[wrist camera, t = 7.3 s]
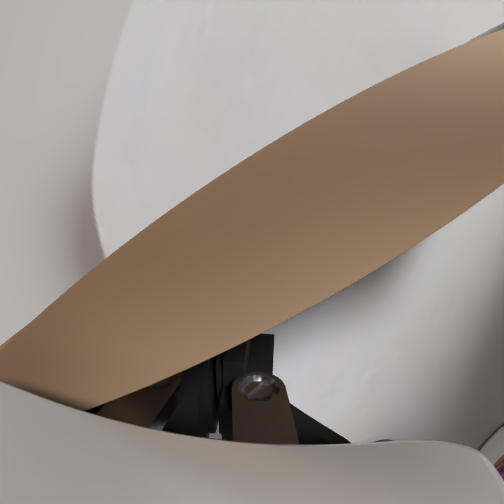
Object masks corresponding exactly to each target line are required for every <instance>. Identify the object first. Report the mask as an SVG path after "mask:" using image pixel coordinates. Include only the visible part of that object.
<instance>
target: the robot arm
mask: <svg viewBox="0 0 504 504" xmlns="http://www.w3.org/2000/svg"><path fill="white" fill-rule="evenodd" d="M273 351H274V334H259V335H257V336H255V337H253V338H251V339H249V340H247V341H245V342H243V343H241V344H239V345H237V346H235V347H233V348H231V349H229V350H227V351H224V352H222V353H220V354H218V355H216V356H214V357H212V358H210V359H208V360H205V361H203V362H201V363H199V364H197V365H195V366H192V367H190V368H188V369H186V370H183V371H181V372H179V373H177V374H174V375H172V376H170V377H168V378H165V379H163V380H161V381H158V382H156V383H154V384H151V385H149V386H147V387H144V388H142V389H139V390H137V391H134V392H132V393H129V394H127V395H124V396H122V397H119V398H117V399H114V400H112V401H109V402H107V403H104V404H101V405H99V406H96V407H93V408H91V409H88V410H85V411H82V410H78V409H75V408H72V407H69V406H66V405H63V404H60V403H57V402H54V401H52V400H49V399H46V398H44V397H41V396H38V395H36V394H33V393H31V392H28V391H25V390H23V389H20V388H17V387H15V386H12V385H10V384H7V383H5V382H1V381H0V504H504V480H503V479H502V477H501V476H500V474H499V473H498V471H497V470H496V468H495V467H494V466H493V464H492V463H491V462H490V461H489V460H488V459H487V458H486V457H485V456H484V455H483V454H482V453H481V452H479V451H478V450H476V449H474V448H472V447H469V446H466V445H462V444H458V443H452V442H444V441H437V440H402V441H387V442H372V443H351V442H349V441H348V440H347V439H345V438H344V437H342V436H340V435H339V434H337V433H335V432H334V431H332V430H331V429H329V428H327V427H326V426H324V425H322V424H321V423H319V422H318V421H316V420H315V419H313V418H311V417H310V416H308V415H307V414H305V413H304V412H302V411H301V410H299V409H298V408H296V407H295V406H293V405H292V404H290V403H289V399H288V395H287V391H286V387H285V385H284V383H283V381H282V380H281V379H279V378H278V377H276V376H274V375H272V373H273ZM218 420H219V433H220V434H222V440H221V439H212V438H208V437H209V433H215V432H216V428H217V424H218Z"/></svg>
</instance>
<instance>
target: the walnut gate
mask: <svg viewBox="0 0 504 504" xmlns="http://www.w3.org/2000/svg"><path fill="white" fill-rule="evenodd" d="M503 183H504V29H502V30H499V31H497V32H494V33H491V34H488V35H486V36H483V37H481V38H478V39H475V40H473V41H470V42H468V43H465V44H463V45H460V46H458V47H456V48H453V49H451V50H449V51H446V52H444V53H442V54H439V55H437V56H435V57H432V58H430V59H428V60H426V61H424V62H421V63H419V64H417V65H415V66H413V67H411V68H409V69H406V70H404V71H402V72H400V73H398V74H396V75H394V76H392V77H390V78H388V79H386V80H384V81H382V82H380V83H378V84H376V85H374V86H372V87H370V88H368V89H366V90H364V91H362V92H360V93H359V94H357V95H355V96H353V97H351V98H349V99H347V100H345V101H344V102H342V103H340V104H338V105H336V106H334V107H333V108H331V109H329V110H327V111H325V112H324V113H322V114H320V115H318V116H316V117H315V118H313V119H311V120H309V121H308V122H306V123H304V124H303V125H301V126H299V127H297V128H296V129H294V130H292V131H291V132H289V133H287V134H286V135H284V136H282V137H281V138H279V139H277V140H276V141H274V142H272V143H271V144H269V145H267V146H266V147H264V148H263V149H261V150H259V151H258V152H256V153H255V154H253V155H251V156H250V157H248V158H247V159H245V160H244V161H242V162H240V163H239V164H237V165H236V166H234V167H233V168H231V169H230V170H228V171H227V172H225V173H224V174H222V175H221V176H219V177H218V178H216V179H215V180H213V181H212V182H210V183H209V184H207V185H206V186H204V187H203V188H201V189H200V190H198V191H197V192H195V193H194V194H192V195H191V196H190V197H188V198H187V199H185V200H184V201H182V202H181V203H180V204H178V205H177V206H175V207H174V208H173V209H171V210H170V211H168V212H167V213H166V214H164V215H163V216H161V217H160V218H159V219H157V220H156V221H155V222H153V223H152V224H150V225H149V226H148V227H146V228H145V229H144V230H142V231H141V232H140V233H138V234H137V235H136V236H134V237H133V238H132V239H130V240H129V241H128V242H127V243H125V244H124V245H123V246H121V247H120V248H119V249H118V250H116V251H115V252H114V253H112V254H111V255H110V256H109V257H107V258H106V259H105V260H104V261H102V262H101V263H100V264H99V265H97V266H96V267H95V268H94V269H92V270H91V271H90V272H89V273H88V274H87V275H85V276H84V277H83V278H81V279H80V280H79V281H78V282H77V283H75V284H74V285H73V286H72V287H71V288H69V289H68V290H67V291H66V292H65V293H64V294H62V295H61V296H60V297H59V298H58V299H57V300H55V301H54V302H53V303H52V304H51V305H50V306H49V307H48V308H46V309H45V310H44V311H43V312H42V313H41V314H40V315H39V316H37V317H36V318H35V319H34V320H33V321H32V322H31V323H29V324H28V325H27V326H25V327H24V328H23V329H21V330H20V331H19V332H17V333H16V334H15V335H14V336H12V337H11V338H10V339H9V340H7V341H6V342H5V343H3V344H2V345H1V346H0V381H1V382H5V383H7V384H10V385H12V386H15V387H17V388H20V389H23V390H25V391H28V392H31V393H33V394H36V395H38V396H41V397H44V398H46V399H49V400H52V401H54V402H57V403H60V404H63V405H66V406H69V407H72V408H75V409H78V410H82V411H85V410H88V409H91V408H93V407H96V406H99V405H101V404H104V403H107V402H109V401H112V400H114V399H117V398H119V397H122V396H124V395H127V394H129V393H132V392H134V391H137V390H139V389H142V388H144V387H147V386H149V385H151V384H154V383H156V382H158V381H161V380H163V379H165V378H168V377H170V376H172V375H174V374H177V373H179V372H181V371H183V370H186V369H188V368H190V367H192V366H195V365H197V364H199V363H201V362H203V361H205V360H208V359H210V358H212V357H214V356H216V355H218V354H220V353H222V352H224V351H227V350H229V349H231V348H233V347H235V346H237V345H239V344H241V343H243V342H245V341H247V340H249V339H251V338H253V337H255V336H257V335H259V334H261V333H263V332H265V331H267V330H269V329H271V328H273V327H275V326H277V325H278V324H280V323H282V322H284V321H286V320H288V319H290V318H292V317H294V316H295V315H297V314H299V313H301V312H303V311H305V310H307V309H308V308H310V307H312V306H314V305H316V304H317V303H319V302H321V301H323V300H325V299H326V298H328V297H330V296H332V295H334V294H335V293H337V292H339V291H341V290H342V289H344V288H346V287H347V286H349V285H351V284H353V283H354V282H356V281H358V280H359V279H361V278H363V277H365V276H366V275H368V274H370V273H371V272H373V271H375V270H376V269H378V268H379V267H381V266H383V265H384V264H386V263H388V262H389V261H391V260H392V259H394V258H396V257H397V256H399V255H400V254H402V253H404V252H405V251H407V250H408V249H410V248H412V247H413V246H415V245H416V244H418V243H419V242H421V241H422V240H424V239H425V238H427V237H428V236H430V235H431V234H433V233H434V232H436V231H437V230H439V229H440V228H442V227H443V226H445V225H446V224H448V223H449V222H451V221H452V220H454V219H455V218H457V217H458V216H459V215H461V214H462V213H464V212H465V211H467V210H468V209H469V208H471V207H472V206H474V205H475V204H476V203H478V202H479V201H481V200H482V199H483V198H485V197H486V196H487V195H489V194H490V193H491V192H493V191H494V190H496V189H497V188H498V187H500V186H501V185H502V184H503Z"/></svg>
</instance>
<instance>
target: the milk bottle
mask: <svg viewBox="0 0 504 504" xmlns="http://www.w3.org/2000/svg"><path fill="white" fill-rule="evenodd" d="M479 452H481V453H482V454H483V455H484V456H485V457H486V458H487V459H488V460H489V461H490V462H491V463H492V464H493V466H494V467H495V468H496V470H497V471H498V473H499V474H500V476H501V477H502V479H503V480H504V425H503V426H502V427H501V428H500V429H499V430H498V431H497V432H495V433H494V434H493V435H492V436H491V437H490V438H489V439H488V441H487V442H486V443H485V444H484V445H483V447H482V448H481V450H480V451H479Z"/></svg>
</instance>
